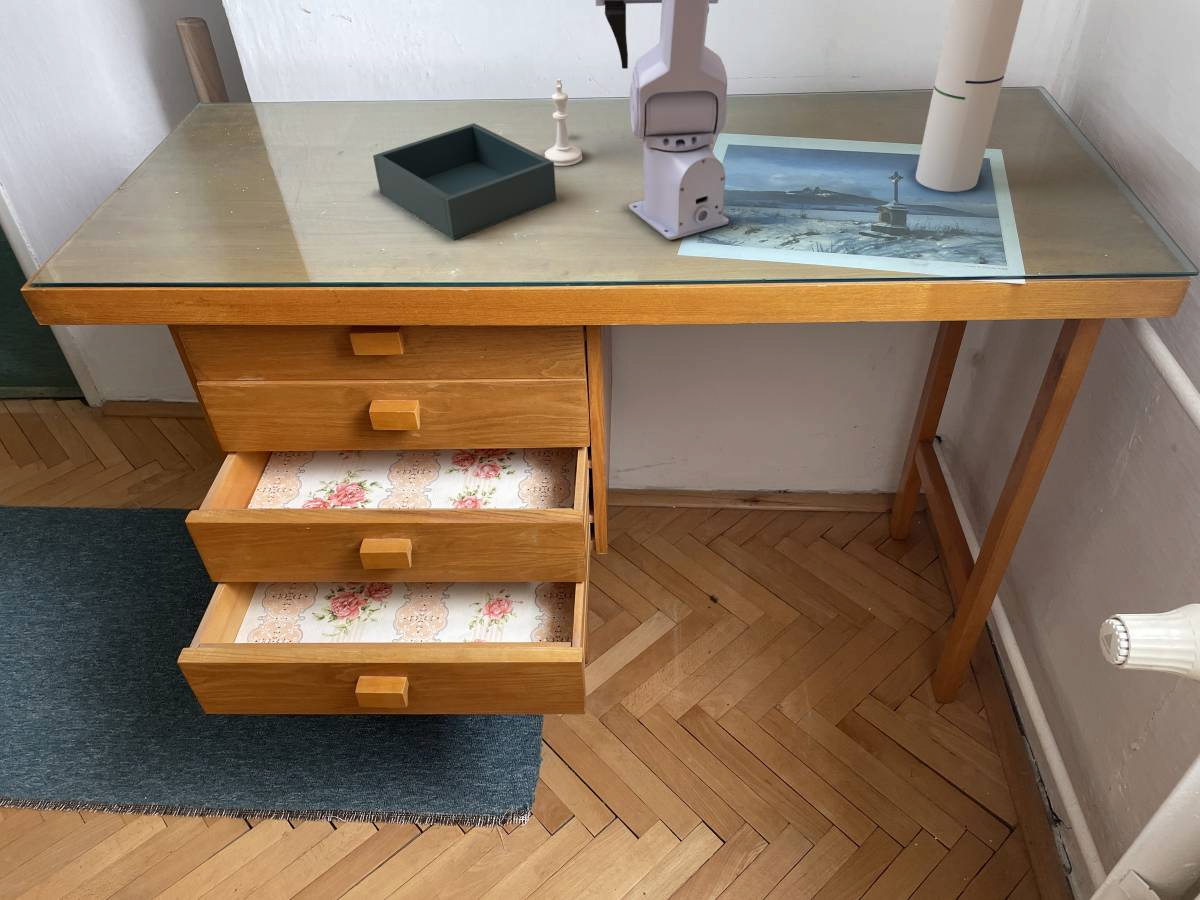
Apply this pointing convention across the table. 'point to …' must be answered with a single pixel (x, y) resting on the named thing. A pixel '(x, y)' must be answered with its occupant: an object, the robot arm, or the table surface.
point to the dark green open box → (465, 179)
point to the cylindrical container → (966, 92)
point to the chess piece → (562, 134)
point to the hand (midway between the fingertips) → (655, 65)
